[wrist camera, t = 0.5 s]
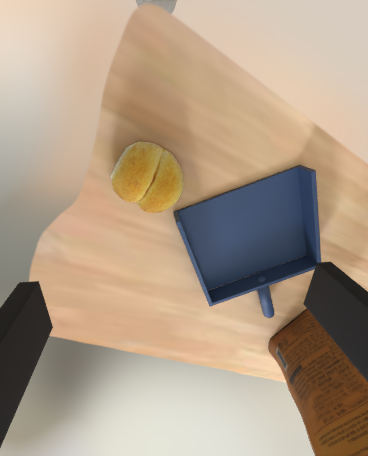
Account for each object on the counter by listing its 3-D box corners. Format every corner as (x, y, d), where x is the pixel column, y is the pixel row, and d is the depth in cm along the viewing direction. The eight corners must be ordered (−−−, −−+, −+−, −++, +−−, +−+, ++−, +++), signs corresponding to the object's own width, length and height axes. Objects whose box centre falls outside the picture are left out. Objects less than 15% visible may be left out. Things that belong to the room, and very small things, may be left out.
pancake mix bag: (251, 347, 51) (349, 575, 26) (320, 289, 45) (526, 505, 21) (270, 357, 53) (377, 572, 29) (338, 303, 48) (540, 509, 23)
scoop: (173, 211, 34) (175, 222, 31) (300, 164, 33) (315, 170, 30) (217, 324, 46) (223, 339, 43) (311, 290, 45) (323, 304, 42)
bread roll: (162, 216, 34) (164, 229, 30) (104, 184, 31) (98, 194, 27) (195, 168, 31) (201, 176, 28) (136, 128, 28) (134, 130, 25)
